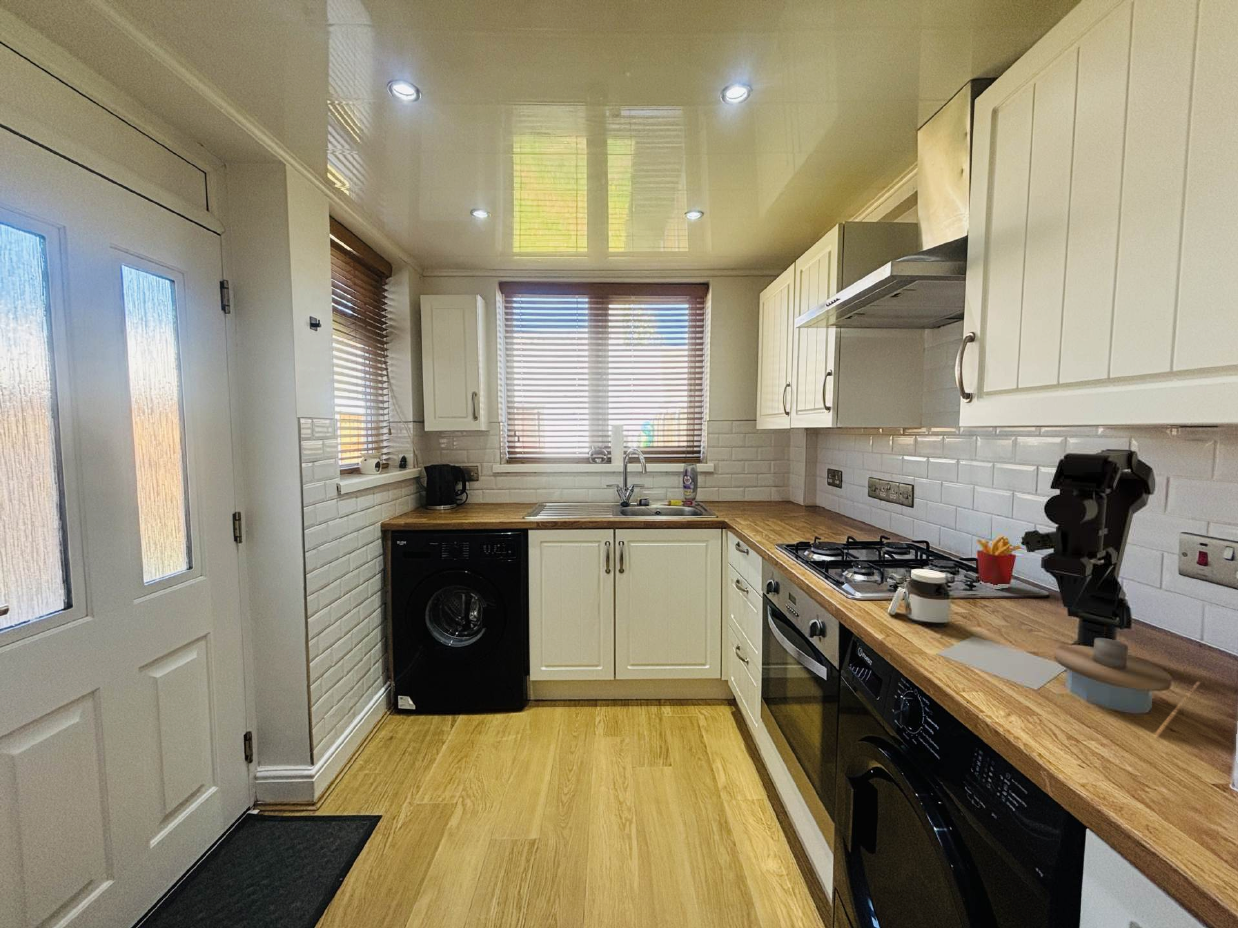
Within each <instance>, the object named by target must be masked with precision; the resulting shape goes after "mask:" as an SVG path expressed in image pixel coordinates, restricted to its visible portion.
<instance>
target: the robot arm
mask: <svg viewBox="0 0 1238 928" xmlns="http://www.w3.org/2000/svg"><path fill="white" fill-rule="evenodd" d="M1056 466H1057V467H1056V470H1055V472H1054V475H1053V477H1052V481H1051V484H1050V489H1051V490H1059V494H1055V495H1053V496H1051V497H1049V498H1048V499H1047V500H1046V502H1045V504H1044V505H1043V506H1044V507H1043V510H1044V514H1045V517H1046V518H1047V519H1048V520H1049V521H1050V522H1052V523H1053V524H1055V525H1056V527H1055V531H1048V532H1040V531H1039V530H1037V529H1036V530H1031V531H1030V530H1028V531H1025V532H1024V534H1023V536H1022V537H1021V542H1020V544H1021V546H1024V547H1025V549H1026V551H1027V553H1035V552H1036V551H1045V550H1052V549H1053V551H1052V552H1049V553H1047V554H1045V555H1044V556H1042V557H1041V562H1040V568H1041V569H1043V570H1044V572H1045V573H1047V574H1050V575H1051V577H1053V578H1054V579H1055V580H1056V584H1057V586H1058V590H1059V594H1060V599H1061V601H1062V605H1063V607H1064V608H1066V609H1067V616H1068V617H1070V618H1071V617H1073V618H1076V619H1078V622H1077V623H1078V624H1077V638H1076V640H1075V641H1073V642H1071V644H1069V645H1081V646H1089V647H1094V640H1095V638H1106V639H1111V640H1115V641H1117V638H1118V629H1119V630H1123V631H1124V630H1125V629H1127V630H1131V629H1132V627H1133V614H1132V609H1131V607H1130V604H1129V601H1128V599H1127V594H1126V592H1125V590H1124V588H1123V586H1122V584H1121V583H1120V581H1119V576H1120V572H1121V568H1122V564H1123V559H1124V555H1125V551H1126V547H1127V543H1128V539H1129V534H1130V529H1131V525H1132V521H1133V518H1134V514H1136V513H1138V512H1139V511H1140V510H1142V509H1143V508H1145V507H1146V506H1147V505H1148V502H1149V499H1150V496H1152V495H1154V494H1155V491H1156V477H1155V474H1154V469H1153V468H1152V467H1151V466H1150V465H1148V464H1147V463H1145V462H1144V461H1142V460H1141V459H1140V458H1139V455H1138V453H1137V451H1136V450H1132V449H1119V448H1117V449H1116V448H1113V449H1112V448H1110V449H1109V448H1106V449H1102V450H1101V451H1100V452H1095V453H1072V452H1071V453H1070V452H1067V453H1066V454H1064V455H1063V458H1061V459H1059V461H1058V463H1057V465H1056ZM1127 470H1128V471H1127Z"/></svg>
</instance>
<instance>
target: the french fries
mask: <svg viewBox="0 0 1238 928" xmlns="http://www.w3.org/2000/svg"><path fill="white" fill-rule="evenodd" d="M976 542H977V543H978V544H979V545H980V547H981V549H982V550H981V549H980V550H979V549H978V550H976V556H977V570H978V581H979V580H980V581H982V582H984V583H990V584H993V585H998V584H1010V585H1011V580H1012V576H1013V571H1014V567H1015V563H1016V562H1015V561H1016V557H1017V555H1016V554H1013V552H1015V551H1019V550H1020V549H1022V547H1021V546H1020V544H1018V545H1016V546H1013V547H1012V543H1010V540H1009V538H1008V537H1004V536H1002V535H999V536H997V538H995V540H994V541H993V542H991V546H990V545H989V542H990V541H989V540H984V542H983V541H982V540H981V539H980V538H979V539H977V540H976Z"/></svg>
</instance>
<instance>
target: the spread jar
mask: <svg viewBox="0 0 1238 928" xmlns="http://www.w3.org/2000/svg"><path fill="white" fill-rule="evenodd" d="M910 573H911V574H910V578H909V580H908V581H907V583H906V586H905V589H903V587H900V586H898V588H897V590H896V592H895V594H894V595H893V598H892V601H891V603H890V605H889V607H888V609H887V614H890V615H892V616H895V614H896V612H897V611H898V608H899V607H900V604H901V602H902V600H903V599H904V600H903V601H904V603H903V605H904V613H905V615H906V618H907V620H909V621H911V622H912V623H914V624H916V625H920V626H921V625H922V626H926V627H934V628H937V627H938V628H940V627H945V626H947V625H948V624H949V622H950V619H951V609H952V608H951V607H952V606H951V605H952V599H951V598H952V597H951V593H950V589H949V588H948V585H947V584H946V577H947V574H945V573H943V572H941V571H938V570H932V569H925V568H924V569H923V568H915V569H911V572H910ZM904 592H905V593H904ZM903 597H904V598H903Z"/></svg>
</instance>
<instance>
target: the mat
mask: <svg viewBox="0 0 1238 928" xmlns="http://www.w3.org/2000/svg"><path fill="white" fill-rule="evenodd" d="M936 655H938V656H940V657H943V658H946V659H949V660H952V661H954V662H957V663H960V664H962V665H965V666H967V667H971V668H974V669H977V670H979V671H982V672H985V673H987V674H991V675H993V676H995V677H999V678H1001V679H1003V680H1004V679H1005V680H1007V681H1009V682H1012V683H1015V684H1018V685H1021V686H1024V687H1026V688H1029V689H1031V690H1034V691H1038V690H1039V689H1040V688H1042V687H1043V686H1045V685H1047V683H1049V682H1050V681H1052V680H1054V679H1055V678H1056V677H1057V676H1059V675H1060V674H1062V673H1063V672H1064V671H1065V672H1066V671H1067V668H1065V667H1063V666H1062V665H1060V664H1059V663H1058V662H1057V661H1053V660H1050V659H1047V658H1045V657H1044V658H1043V657H1041V656H1037V655H1034V654H1031V653H1028V652H1024V651H1021V650H1018V649H1016V648H1012V647H1008V646H1006V645H1002V644H999V643H996V642H993V641H990V640H986V639H984V638H980V637H977V636H974V635H973V636H971V637H968V638H966V639H964V640H962V641H960V642H959V643H956V644H954V645H952V646H949V647H948V648H945V649H943V650H940V651H939V652H936Z"/></svg>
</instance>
